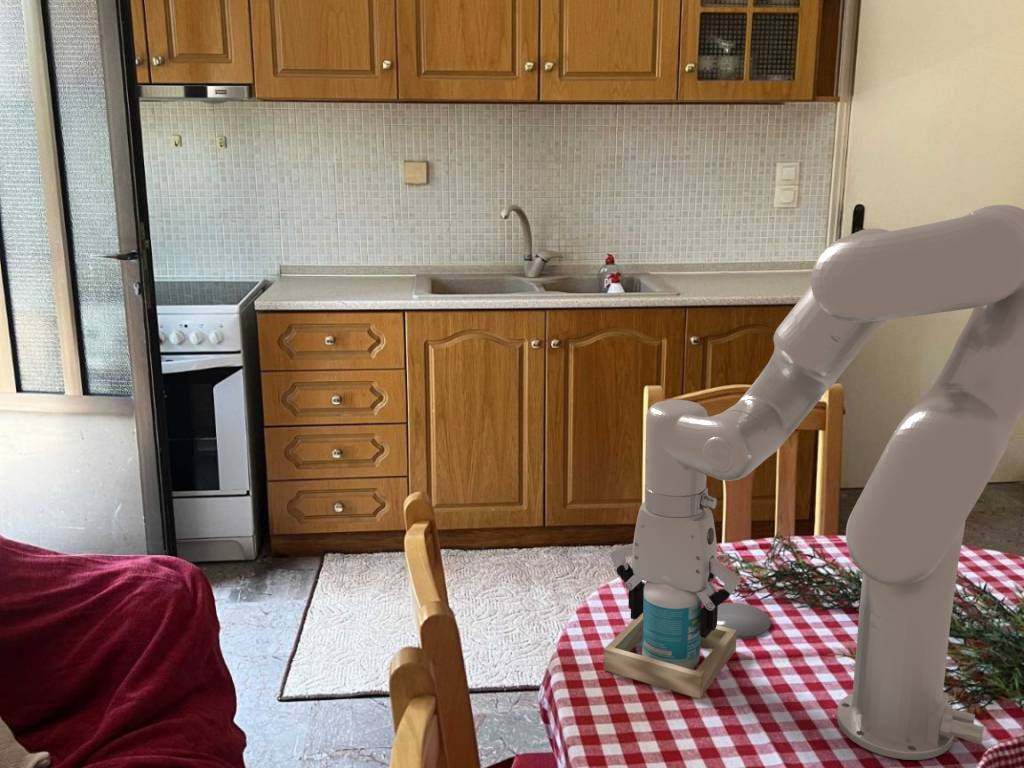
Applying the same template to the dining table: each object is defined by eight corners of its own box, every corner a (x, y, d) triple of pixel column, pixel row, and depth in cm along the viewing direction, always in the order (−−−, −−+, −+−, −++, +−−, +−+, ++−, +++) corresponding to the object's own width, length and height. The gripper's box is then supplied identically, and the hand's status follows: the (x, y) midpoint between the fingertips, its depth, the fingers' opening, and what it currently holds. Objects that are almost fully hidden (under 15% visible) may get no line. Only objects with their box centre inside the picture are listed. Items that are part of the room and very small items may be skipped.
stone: (778, 616, 141) (778, 612, 141) (757, 644, 134) (758, 640, 134) (717, 601, 146) (717, 597, 146) (694, 627, 138) (694, 623, 138)
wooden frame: (735, 650, 132) (736, 630, 131) (699, 698, 122) (700, 676, 121) (645, 626, 139) (646, 607, 138) (603, 670, 128) (603, 649, 127)
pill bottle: (699, 678, 126) (702, 580, 122) (640, 673, 127) (641, 576, 124) (700, 648, 133) (703, 555, 130) (644, 643, 135) (646, 551, 131)
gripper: (752, 502, 123) (746, 627, 128) (624, 478, 132) (623, 596, 136) (731, 523, 117) (726, 654, 121) (599, 496, 126) (598, 620, 130)
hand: (671, 623), depth 129 cm, fingers open, 9 cm apart
